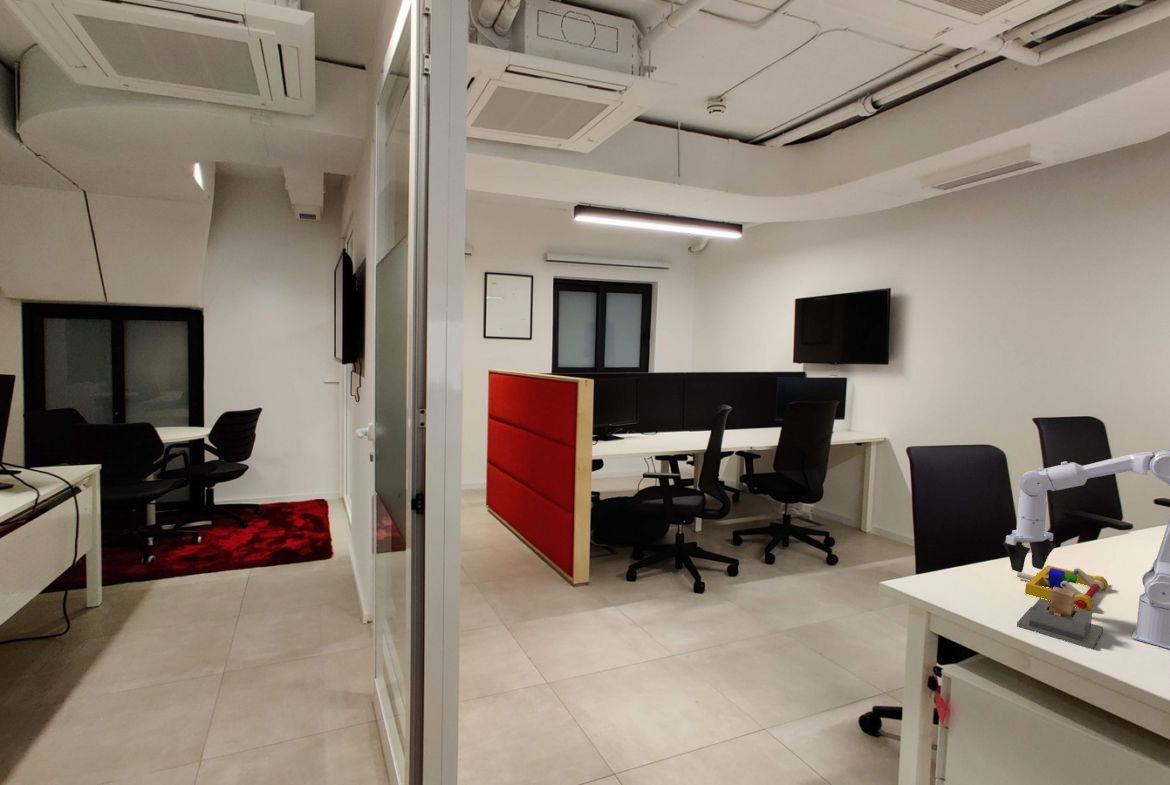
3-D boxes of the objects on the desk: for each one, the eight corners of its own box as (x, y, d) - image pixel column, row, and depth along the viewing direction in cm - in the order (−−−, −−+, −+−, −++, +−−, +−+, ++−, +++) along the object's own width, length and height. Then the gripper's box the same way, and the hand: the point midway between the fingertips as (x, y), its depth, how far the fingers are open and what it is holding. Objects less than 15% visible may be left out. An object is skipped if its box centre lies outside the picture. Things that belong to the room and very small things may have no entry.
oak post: (1073, 624, 140) (1076, 591, 139) (1069, 629, 137) (1072, 596, 136) (1051, 618, 143) (1053, 586, 142) (1047, 623, 140) (1050, 590, 140)
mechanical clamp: (1111, 566, 169) (1091, 591, 149) (1109, 587, 169) (1089, 615, 150) (1033, 549, 183) (1005, 569, 163) (1031, 568, 183) (1004, 591, 163)
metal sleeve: (1102, 631, 139) (1104, 610, 139) (1093, 649, 130) (1095, 627, 130) (1030, 610, 150) (1032, 591, 150) (1016, 626, 141) (1018, 605, 140)
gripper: (1034, 512, 156) (1030, 561, 157) (995, 515, 152) (991, 566, 152) (1063, 519, 150) (1059, 571, 151) (1023, 523, 145) (1019, 576, 146)
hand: (1027, 569), depth 151 cm, fingers open, 7 cm apart
